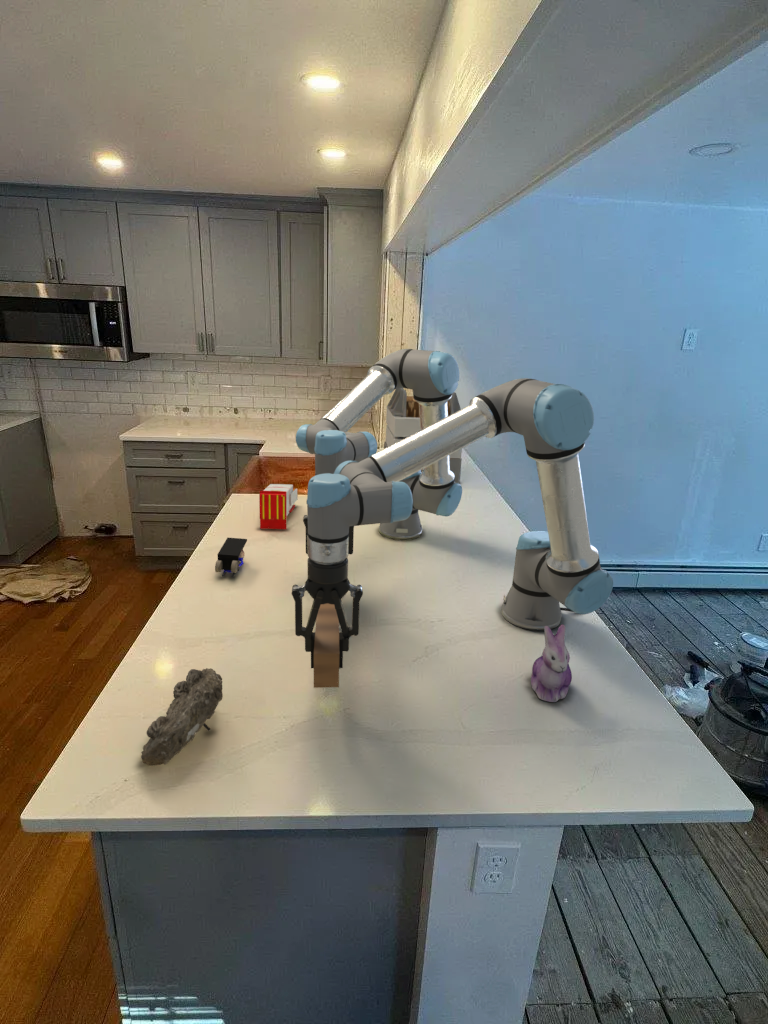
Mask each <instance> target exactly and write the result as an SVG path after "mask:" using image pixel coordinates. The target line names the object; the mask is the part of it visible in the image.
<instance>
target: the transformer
mask: <svg viewBox="0 0 768 1024" xmlns="http://www.w3.org/2000/svg"><path fill="white" fill-rule="evenodd" d="M407 394H408V393H407V390H406V389H405V388H398V389H395V390H394V391H393V394H392V395H391V398H390V400H389V402H388V404H387V405H386V413H385V414H386V415H385V423H386V428H385V438H384V442H383V450H384V449H385V448H387V447H389V446H391V445H393V444H395V443H397V442H399V441H401V440H403V439H405V438H407V437H409V436H411V435H413V434H414V433H416V432H418V431H420V414H419V403H418V402H416V401H415V400H414V398H413V395H412V396H411V395H407ZM461 409H462V408H461V405H460V402H459V398H458V395H457V392H456V391H455V392H454V393H452V397H451V398H450V399H449V400H448V401H447V411H448V416H449V415H451V414H453V413H455V412H457V411H459V410H461ZM462 453H463V448H462V449H460V450H458V451H456V452H454V453H452V454H450V455H449V466H450V471H452V472H453V473H454V476H455V483H458V484H460V483H461V472H462V461H463V460H462Z"/></svg>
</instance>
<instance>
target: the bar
mask: <svg viewBox="0 0 768 1024" xmlns="http://www.w3.org/2000/svg"><path fill="white" fill-rule="evenodd" d="M314 628H315V629H314V632H315V642H314V668H313V689H316V688H321V689H322V688H339V687H340V668H339V632H340V624H339V620H338V616H337V612H336V609H335V606H334V604H328V603H327V604H321V605H320V608H319V611H318V614H317V618H316V621H315V626H314Z"/></svg>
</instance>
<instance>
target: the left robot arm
mask: <svg viewBox="0 0 768 1024" xmlns="http://www.w3.org/2000/svg"><path fill="white" fill-rule="evenodd" d="M459 382H460V367H459V364H458V361H457V360H456V358H455V357H454V356H453V355H452V354H450V353H449V352H444V351H440V350H428V349H427V350H426V349H412V348H402V349H398V350H395V351H392V352H391V353H389V354H387V355H385V356H383V357H382V358H380V359H379V360H378V361H377V362H375V363H374V364H373V365H371V367H369V369H368V370H367V374H366V375H365V377H363V379H361V381H359V383H357V384H356V385H355V386H354V387H353V388H352V389H351V390H350V391H349V392H348V393H347V394H346V395H345V396H343V397H342V398H341V399H340V400H339V401H338V402H337V403H336V404H335V405H334V406H332V408H331V409H329V411H327V412H326V413H325V414H324V415H323V416H322V417H321V418H320V419H319V420H318V421H317V422H315V424H312V423H309V424H308V423H306V424H302V425H301V426H299V428H298V429H297V431H296V434H295V443H296V446H297V447H298V449H299V450H300V451H302V452H305V453H308V454H311V455H314V476H316V475H319V474H325V473H330V474H334V472H335V470H336V468H337V467H338V466H339V465H340V464H341V463H343V462H345V461H357V462H360V461H362V460H364V459H366V458H368V457H370V456H372V455H374V454H376V453H378V441H377V439H376V437H375V436H374V435H373V434H372V433H371V432H368V431H357V432H350V431H349V430H350V429H352V427H353V426H354V425H355V424H357V422H358V421H360V420H361V419H362V418H363V417H364V416H365V415H366V414H367V413H368V412H369V411H370V410H371V409H372V408H373V407H374V406H375V405H376V404H377V403H378V402H379V401H380V400H381V399H382V398H383V397H384V396H386V395H390V394H392V393H394V392H395V390H396V389H398V388H403V389H405V390H406V389H407V390H412V396H413V398H414V400H415V401H416V402H418V403H419V414H420V430H422V429H424V428H426V427H428V426H430V425H432V424H434V423H436V422H438V421H440V420H442V419H444V418H445V417H447V416H448V411H447V401H448V400H449V399H450V398H451V397H452V393H454V392H455V393H456V391H457V388H458V386H459ZM399 482H405V483H406V484H407V485H408V486H409V488H410V490H411V493H412V498H413V507H412V512H411V515H410V516H409V517H408V518H407V519H406V520H402V521H396V522H393V523H390V522H389V523H379V526H378V533H379V534H380V535H381V536H382V537H385V538H387V539H389V540H395V541H410V540H415V539H418V538H420V537H421V536H422V535H423V525H422V524H421V518H420V515H419V511H422V512H425V513H429V514H433V515H435V516H440V517H450V516H452V515H453V514H454V513H455V512H456V510H457V509H458V507H459V504H460V503H461V501H462V495H463V487H462V485H461V484H460V483H455V476H454V473H453V472H452V471H450V466H449V455H448V456H447V457H445V458H443V459H441V460H439V461H437V462H435V463H433V464H431V465H429V466H428V467H426V468H424V469H422V470H420V471H418V472H416V473H414V474H412V475H410V476H409V477H407V478H405V479H403V480H401V481H399ZM302 521H303V525H304V527H305V554H306V555H308V548H307V536H308V516H307V514H304V515H303V518H302ZM354 530H355V526H350V527H349V544H348V556H349V555H353V554H354V537H355V536H354V534H355V531H354Z"/></svg>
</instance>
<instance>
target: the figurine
mask: <svg viewBox="0 0 768 1024" xmlns="http://www.w3.org/2000/svg"><path fill="white" fill-rule="evenodd" d="M543 631H544V648H543V650H542V655H541V656H539V657H538V658H536V659H535V660H534V661H533V664H532V668H531V676H530V685H531V690H533V691H534V693H536V696H537V697H538V699H540V700H542V701H544V702H549V703H557V702H558V701H559V700H563V699H565V698H566V696H567V694H568V692H569V688H570V686H571V684H572V681H573V675H572V674H573V673H572V670H571V667H570V664H569V663H570V660H571V657H570V652H569V649H568V647H567V645H566V643H565V642H566V641H565V637H566V626H565V625H564V624H560V625H559V626H558V628H557V631H556V633H555V634H554V633H553V631H552V629H550V628H549V627H548V626H545V627H544V630H543Z"/></svg>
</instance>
